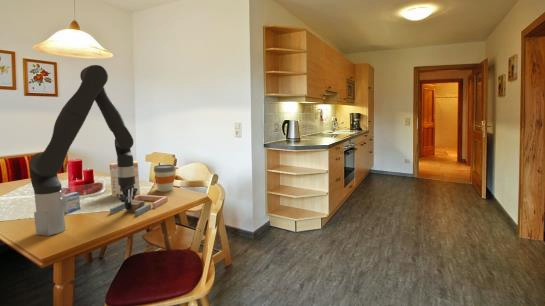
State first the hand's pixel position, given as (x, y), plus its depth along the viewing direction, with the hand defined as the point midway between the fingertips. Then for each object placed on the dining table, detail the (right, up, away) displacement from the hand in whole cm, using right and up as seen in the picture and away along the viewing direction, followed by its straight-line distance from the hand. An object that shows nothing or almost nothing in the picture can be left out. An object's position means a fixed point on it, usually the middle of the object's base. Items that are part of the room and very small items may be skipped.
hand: (128, 209), depth 154 cm
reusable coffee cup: (+3, +5, +43) cm, 44 cm away
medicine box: (-30, -1, +3) cm, 30 cm away
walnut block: (+1, -1, +5) cm, 5 cm away
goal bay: (+3, 0, +14) cm, 15 cm away
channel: (0, -1, +2) cm, 3 cm away
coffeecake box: (-16, +3, +32) cm, 36 cm away
